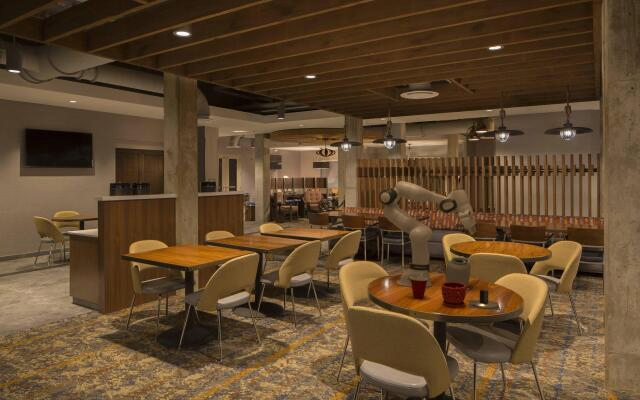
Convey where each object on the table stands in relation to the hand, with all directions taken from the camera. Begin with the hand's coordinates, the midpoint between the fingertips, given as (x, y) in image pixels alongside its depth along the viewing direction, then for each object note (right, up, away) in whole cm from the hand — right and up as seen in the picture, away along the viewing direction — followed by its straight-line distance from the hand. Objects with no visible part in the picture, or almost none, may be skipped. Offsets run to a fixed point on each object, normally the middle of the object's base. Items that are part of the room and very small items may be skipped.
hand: (473, 233), depth 285 cm
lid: (-5, -37, -32) cm, 49 cm away
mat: (-5, -38, -32) cm, 50 cm away
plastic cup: (-38, -37, -16) cm, 55 cm away
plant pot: (-22, -38, -32) cm, 54 cm away
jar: (-7, -36, +9) cm, 38 cm away
